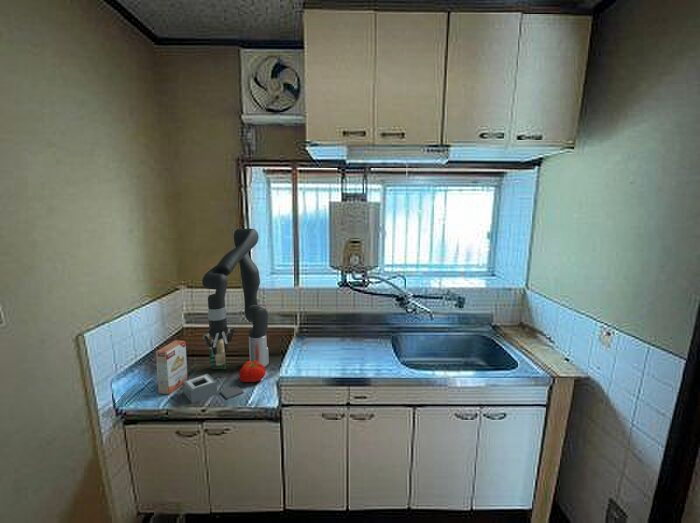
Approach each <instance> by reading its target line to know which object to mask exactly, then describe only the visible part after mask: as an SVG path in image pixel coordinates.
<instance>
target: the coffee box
mask: <svg viewBox="0 0 700 523" xmlns="http://www.w3.org/2000/svg"><path fill="white" fill-rule="evenodd" d="M208 354H209V366H210V370H226V368H227V358H226V357H227V356H226V355H225V364H223V365H216V356H215V355H214V354H213V353H212V347H209V346H208Z"/></svg>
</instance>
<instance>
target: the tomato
mask: <svg viewBox="0 0 700 523" xmlns="http://www.w3.org/2000/svg"><path fill="white" fill-rule="evenodd" d="M241 366H242V367H241V368H240V370H239V372H238V377H239V379H240V381H241V382H243V383H250V382H251V383H255V382H259V381H260V380H263V379H264V378H265V376H266V368H265V367H264V366H263V365H262V364H261V363H259V362H258V361H252V362H251V361H250V360H247V361H246V362H245V363H244V364H243V365H241Z"/></svg>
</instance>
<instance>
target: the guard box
mask: <svg viewBox="0 0 700 523" xmlns="http://www.w3.org/2000/svg"><path fill="white" fill-rule="evenodd" d="M182 385H183V386H182V387H183V394H184V395H185V396H186V397H187V399H188V400H189V401H190V403H191V404H194V403H197V402H199V401H202V400H205V399H208V398H210V397H214V396H216V395H218V388H217V381H216V380H215V379H214V378H213V377H212V376H211V375H210V374H208V373H204V374H202V375H201V374H200V375H198V376H195V377H193V378H189V379H188V380H186V381H183V384H182Z"/></svg>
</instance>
